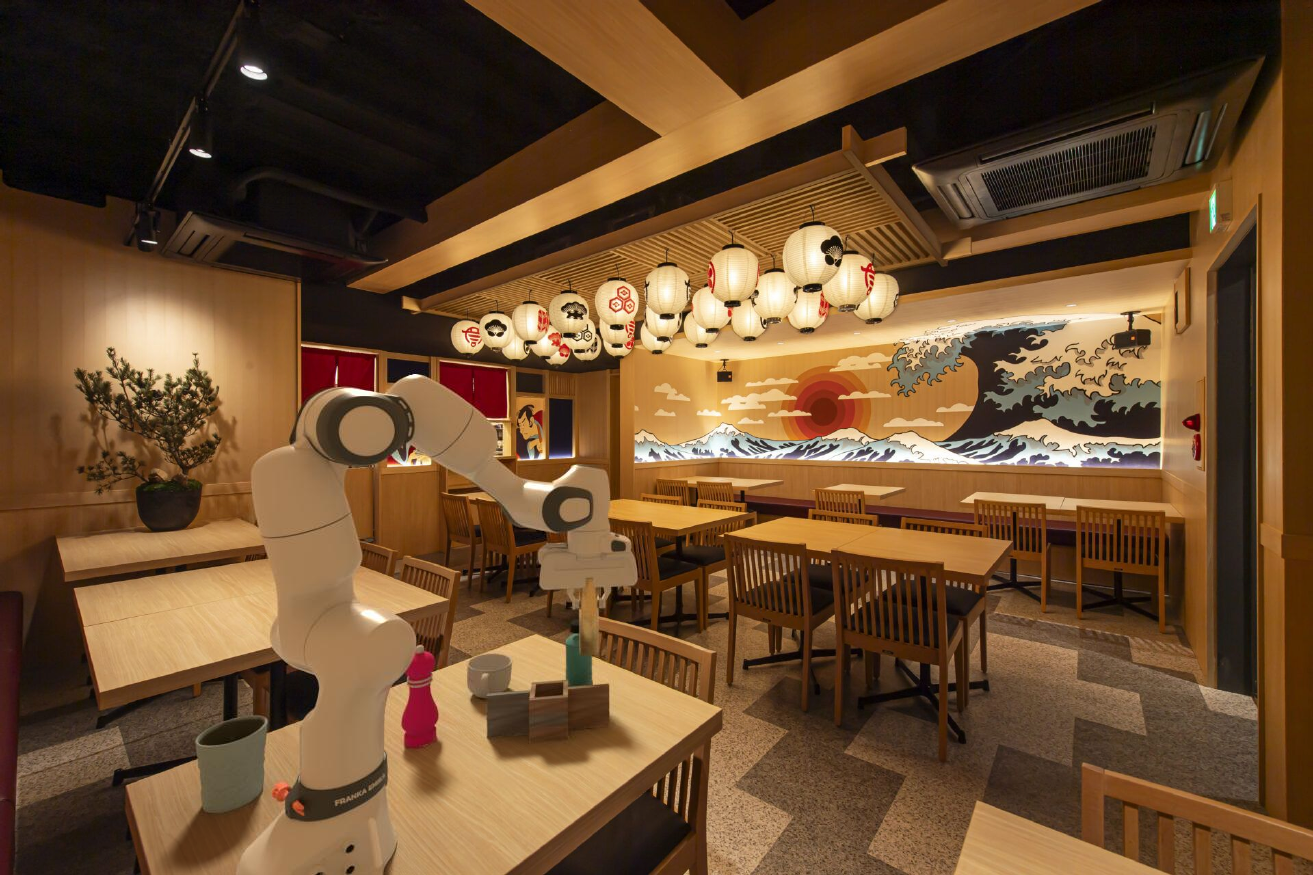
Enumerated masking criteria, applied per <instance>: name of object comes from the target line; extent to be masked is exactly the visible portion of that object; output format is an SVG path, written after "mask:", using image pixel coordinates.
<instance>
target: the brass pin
mask: <svg viewBox="0 0 1313 875" xmlns="http://www.w3.org/2000/svg"><path fill="white" fill-rule="evenodd" d="M585 581H586V585H585V587H584V588H578V590H579V595H578V599H579V601H580V605H579V606H580V609H578V611H579V612H578V618H579V619H578V620H579V653H580V654H581V655H585V656H590V655H593V656H595V655H597V654H598V653H599V651H600V650H599V645H600V644H599V643H600V642H599V641H600V640H599V638H600V637H599V634H600V633H599V629H600V626H599V625H600V624H599V619H600V618H599V617H600V616H599V615H600V614H599V613H600V612H599V609H600V608H599V598H600V597H599V594H600V592H599V591H600V590H599V588H600V587H594V586H593V577H592V578H585Z"/></svg>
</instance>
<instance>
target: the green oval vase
mask: <svg viewBox="0 0 1313 875" xmlns="http://www.w3.org/2000/svg"><path fill="white" fill-rule="evenodd" d="M267 735H268V719H267V717H266V716H262V715H246V716H239V717H236V718H235V717H234V718H231V719H229V720H225V721H221V722H220V723H217V724H215V725H212V726H210V727H209V728H207V729H206V730H204V731H203V732H201V733H200V734H199V735H198V736H197V737H196V739H195V751H196V757H197V767H198V769H199V780H200V788H201V789H200V798H201V806H202V810H203V811H204V812H205V813H207V814H208V813H209V814H225V813H227V812H230V811H234V810H237V809H240V808H242V807H243V806H245V805H248V804H249V803H251V802H252V801H254V800H255V799H256V798H257V797H259V796H260V795H261V793H262V791H263V789H264V784H265V766H264V763H265V760H266V755H265V754H266V753H265V752H266V750H265V749H266V745H267Z"/></svg>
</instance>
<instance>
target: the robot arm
mask: <svg viewBox="0 0 1313 875" xmlns="http://www.w3.org/2000/svg"><path fill="white" fill-rule="evenodd" d="M498 438H499V436H498V432H497V428H496V427H495V426H494V425H493V424H492V422H491V421H490V420H489V419H488V418H487V417H486V416H485V414H483V413H482V412H481V411H480V410H478V409H477V408H475V406H474V405H472V404H471V403H469V402H468V401H466V400H465V398H462V397H461V396H460V395H458V393H455V392H454V391H452V390H451V389H450V388H447V386H445V385H443V384H441V383H439V382H437V381H435V379H434V380H433V379H432V378H430V377H427V376H426V375H422V374H412V375H411V374H410V375H408V376H404V377H403V378H400V379H399V380H397V381H396V382H395V383H394V384H392V386H390V388H389V389H388V390H387V391H385V393H381V392H376V391H370V390H364V389H361V388H357V387H354V386H353V387H350V386H340V387H327V388H323V389H320V390H318V391H315V392H314V393H313V394H310V396H309V397H308V398H306V400H305V401H303V404H302V405H301V406H300V408H299V410H298V412H297V415H296V418H295V422H294V425H293V428H292V430H291V434H290V436H289V445H285V446H282V447H279V448H276V449H273V450H271V451H269V452H267V453H266V454H263V455H262V456H260V457H259V458H258V459H257V460H256V461H255V463H254V464H253V465H252V468H251V472H250V482H251V484H250V485H251V486H250V487H251V494H252V501H253V508H254V514H255V518H256V522H257V526H258V529H259V533H260V536H261V539H262V543H263V546H264V549H265V552H266V555H267V556H266V557H267V559H268V562H269V566H270V568H271V569H270V570H271V572H272V575H273V578H274V582H275V588H276V598H277V599H276V601H277V616H276V618H275V619H274V620H273V622H272V625H271V627H270V632H269V641H270V645H271V647H272V649H273V650H274V652H275V653H276V654H277V655H278V656H279V657H280V658H281V659H282V660H283V661H284V662H285V663H287V664H288V665H289V666H291V667H292V668H295V669H297V670H300V671H304V672H305V673H308V674H312V675H313V676H315V678H316V679H317V681H318V688H319V689H318V695H317V700H316V703H315V705H314V706H315V707H314V708H312V709H311V711H309V712H308V713H307V714H306V715H305V716H304V718H303V720H302V722H301V723H300V727H299V774H298V776H297V778H296V780H295V783H294V784H293V785H292V787H291V786H289V784H288V783H287V782H285V781H281V782H278V783H277V784H275V785H274V786H273V788H272V789H271V792H270V793H271V794H270V795H271V797H273V798H274V799H275V801H276V802H278V803H283V802H284V809H283V810H282V811H281V812H280V813H279V814H278V815H277V816H276V817H275V819H273V821H272V822H270V824H269V825H268V826H267V827H266V828H265V829H264V830H263V831H262V832H261V833H260V834H259V835H258V836H257V837H256V839H254V841H253V842H252V843H251V844H249V845H248V847H247V848H246V849H245V850H244V851H243V853H242V855H241V856H240V859H239V860H238V863H237V868H236V871H235V875H384V870H385V867H386V865H387V864H388V863H389V861H390V859H391V858H392V856H393V855H394V852H395V850H396V848H397V844H398V843H397V841H398V840H397V839H398V838H397V834H396V831H395V829H394V826H393V824H392V823H393V822H392V820H391V816H390V810H389V805H388V798H387V786H388V782H389V780H388V779H389V778H388V777H389V776H388V774H389V766H388V754H387V751H386V750H385V713H386V706H387V705H386V704H387V700H388V697H389V693H390V690H391V688H392V686H393V684H395V682H397V681H398V680H399V679H400V678H401V677H403V675H404V674H405V671H406V670H407V669H408V667H409V665H410V664H411V662H412V659H413V657H414V654H415V653H416V652H415V649H416V647H417V637H416V636H417V635H416V632H415V630H414V628H413V627H412V625H411V624H410V623H409V622H407V621H405V620H404V619H402V618H401V617H400V616H399V615H397V614H395V613H394V612H392V611H390V610H388V609H385V608H380V607H376V606H373V605H367V604H365V603H362V602H360V601H359V599H358V598H357V596H356V594H355V590H354V577H355V576H354V575H355V573H356V571H357V570H358V569H359V567H360V566H361V564H362V561H363V551H362V548H361V544H360V540H359V537H358V533H357V529H356V526H355V521H354V518H353V515H352V512H351V508H350V504H349V500H348V498H347V495H346V490H345V488H346V487H345V477H346V473H347V470H348V469H349V467H353V468H355V467H357V468H359V467H361V468H362V467H370V466H373V465H376V464H379V463H381V462H383V461H385V460H387V458H389V457H391V456H392V455H393V454H395V452H397V450H399V449H400V448H401V447H403V446H405V445H406V444H408V445H409V446H412V447H413V448H415V449H417V450H418V451H420V453H422V454H424V455H425V456H427V457H428V458H429V459H431V460H432V461H434V462H436V463H437V464H439V465H441V466H442V467H444V468H445V469H447V470H450V471H451V472H453V473H456V474H458V475H459V476H462V477H464V478H465V479H466V480H468V481H469V482H471V483H472V484H473V485H475V486H476V487H478V488H479V490H481V491H483V492H484V493H485V494H487V496H489V497H491V499H493V500H494V501H495V502H496V503H497V504H498V505H499V507H500V508H501V510H502V512H503V515H504V516H505V517H506V518H507V520H508V522H510V523H511V524H512V525H514V526H515V527H518V528H521V529H522V528H524V529H533V530H538V531H544V532H548V533H553V534H562V533H566V532H567V542H558V543H556V542H555V543H552V542H549V543H548V542H547V543H545V545H543V546H541V547H540V548H539V549H538V552H537V561H538V563H539V565H541V566H540V571H539V572H540V573H539V587H540V588H541V589H542V590H543V591H546V590H547V591H548V590H566V594H567V596H568V597H569V600H570V601H571V603H572V604H571V606H572V610H579V609H580V606H579V605H580V601H579V598H576V597H575V595H574V594H575V593H574V592H575V589H579V588H584V587H585V585H586V581H585V578H592V577H593V586H594V587H599V588H603V592H604V593H603V595H602V597H599V609H606V605H607V603H606V601H607V600H608V598H609V595H610V594H611V592H612V587H631V586H635V585H636V583H637V582H638V577H639V576H638V568H637V562H636V557H635V556H634V553H633V551H632V542H631V540H630V539H629V537H627V536H625V535H622V534H618V533H615V532H613V531H612V532H611V524H610V520H609V513H610V508H611V491H610V481H609V476H608V473H607V471H606V470H605V469H604V468H603V467H600V466H597V465H588V464H579V463H578V464H573V465H571V466H570V469H569V470H568V471H567V472H565V474H563V475H562V476H560V477H559V478H557V479H555V480H552V481H551V482H549V481H548V482H547V481H538V480H533V479H528V478H522V477H520V476H518V475H516V474H515V473H514V472H512V470H511V469H509V468H508V467H506V466H505V465H504V464H503V463H502V462H500V461H499V460H498V459H497V458H496V457H495V456H494V455H495V453H496V451H497V448H498Z"/></svg>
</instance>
